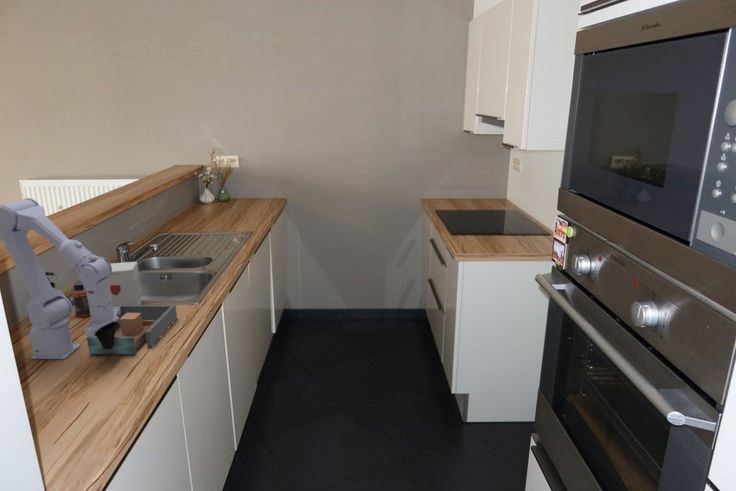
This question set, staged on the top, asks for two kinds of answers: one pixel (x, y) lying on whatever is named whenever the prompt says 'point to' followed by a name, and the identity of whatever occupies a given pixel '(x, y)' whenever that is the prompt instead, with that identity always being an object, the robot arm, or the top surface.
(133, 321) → the terracotta block
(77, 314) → the supplement bottle
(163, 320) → the organiser housing
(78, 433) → the top surface
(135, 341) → the tray
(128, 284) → the supplement box
